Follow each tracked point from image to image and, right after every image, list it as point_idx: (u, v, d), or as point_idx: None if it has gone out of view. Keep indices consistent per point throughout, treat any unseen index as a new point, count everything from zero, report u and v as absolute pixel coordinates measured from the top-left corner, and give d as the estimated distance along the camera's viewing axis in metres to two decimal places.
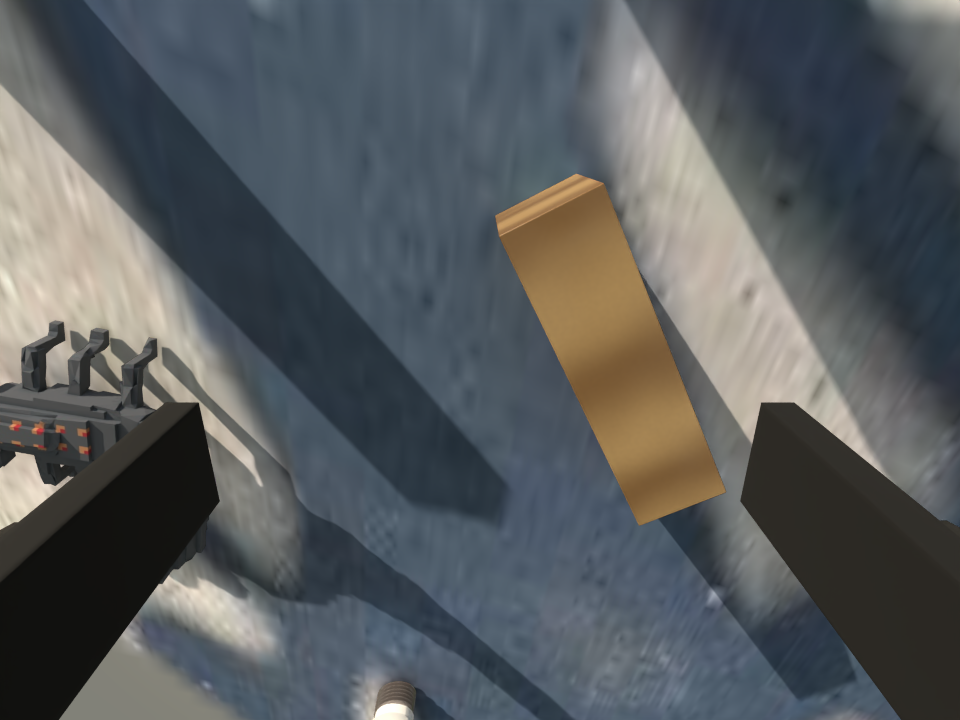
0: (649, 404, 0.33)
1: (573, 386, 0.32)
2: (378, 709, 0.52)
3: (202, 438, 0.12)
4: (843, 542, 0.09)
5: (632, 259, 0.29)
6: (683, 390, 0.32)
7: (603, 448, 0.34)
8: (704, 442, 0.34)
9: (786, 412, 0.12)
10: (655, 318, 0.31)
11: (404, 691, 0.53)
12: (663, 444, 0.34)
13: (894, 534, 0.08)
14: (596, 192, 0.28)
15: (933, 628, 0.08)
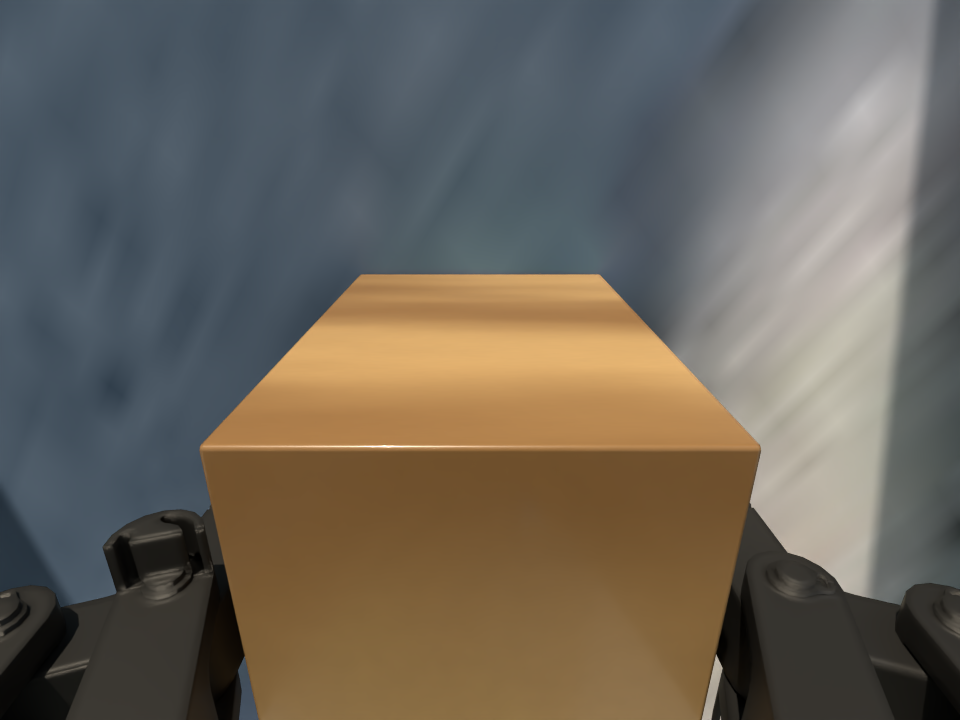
0: None
1: None
2: None
3: None
4: None
5: None
6: None
7: None
8: None
9: None
10: None
11: None
12: None
13: None
14: (713, 468, 0.06)
15: None
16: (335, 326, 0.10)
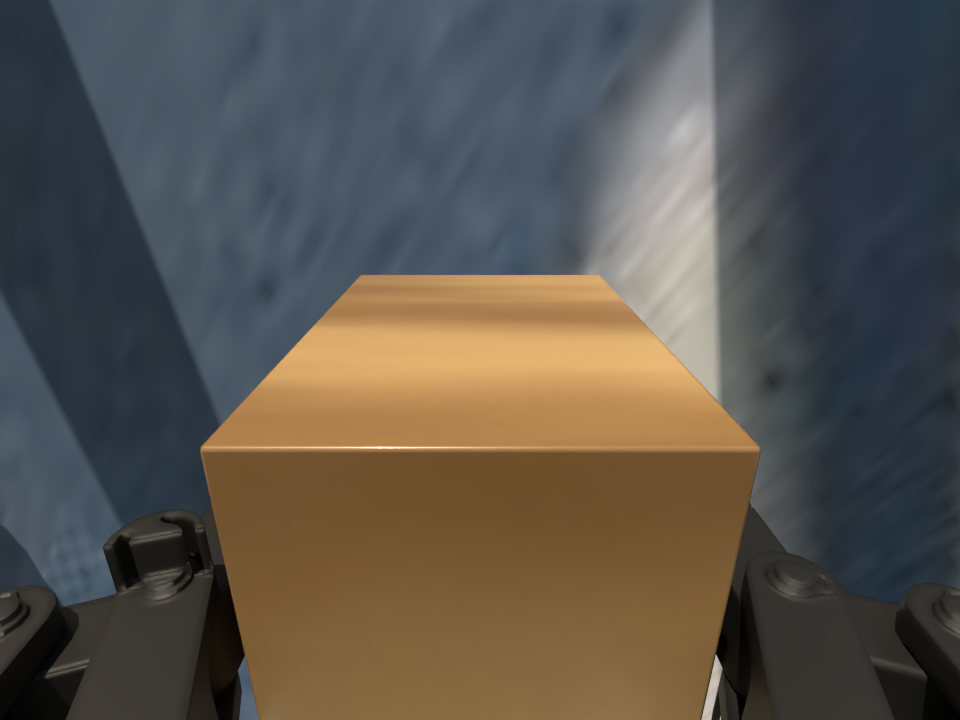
0: None
1: None
2: None
3: None
4: None
5: None
6: None
7: None
8: None
9: None
10: None
11: None
12: None
13: None
14: (713, 469, 0.06)
15: None
16: (335, 327, 0.10)
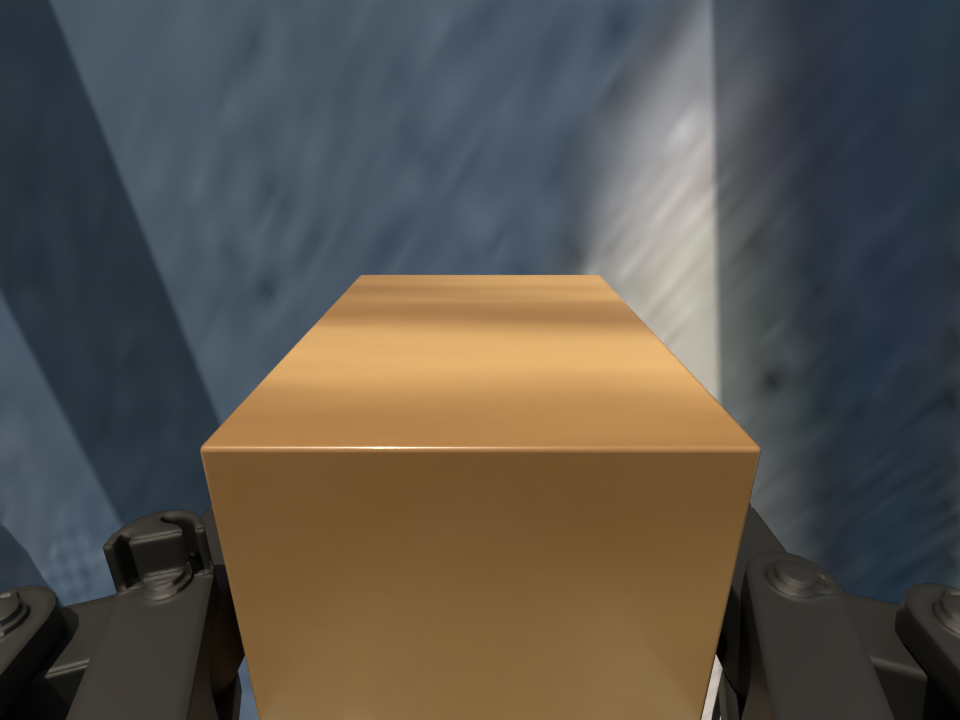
0: None
1: None
2: None
3: None
4: None
5: None
6: None
7: None
8: None
9: None
10: None
11: None
12: None
13: None
14: (713, 469, 0.06)
15: None
16: (335, 327, 0.10)
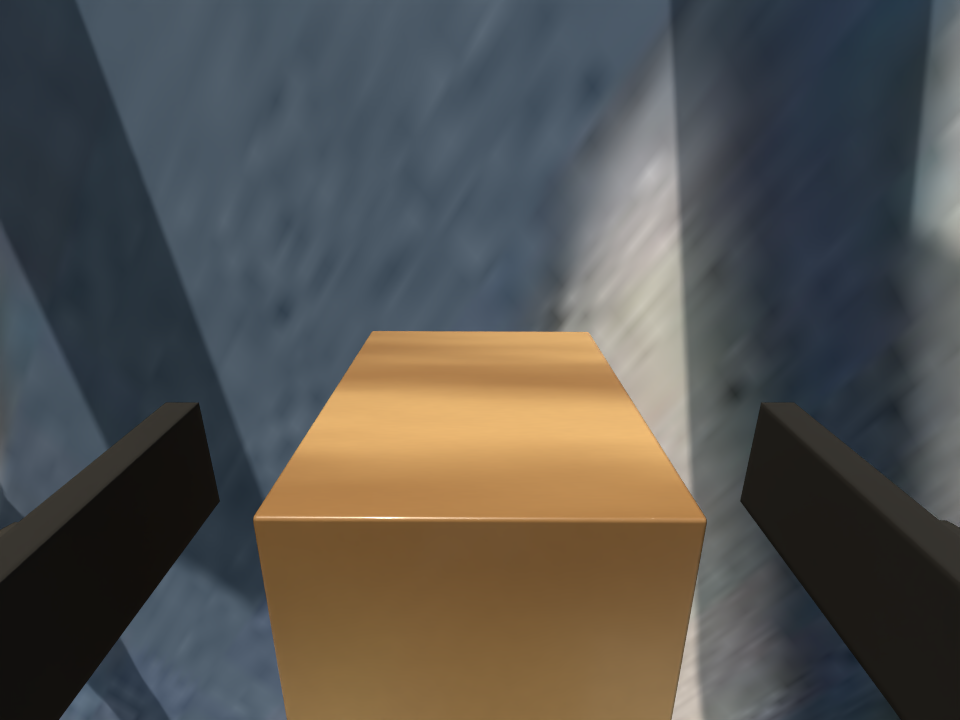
0: None
1: None
2: None
3: (202, 438, 0.12)
4: (843, 542, 0.09)
5: None
6: None
7: None
8: None
9: (786, 412, 0.12)
10: None
11: None
12: None
13: (893, 534, 0.08)
14: (669, 536, 0.07)
15: (932, 628, 0.08)
16: (354, 392, 0.11)
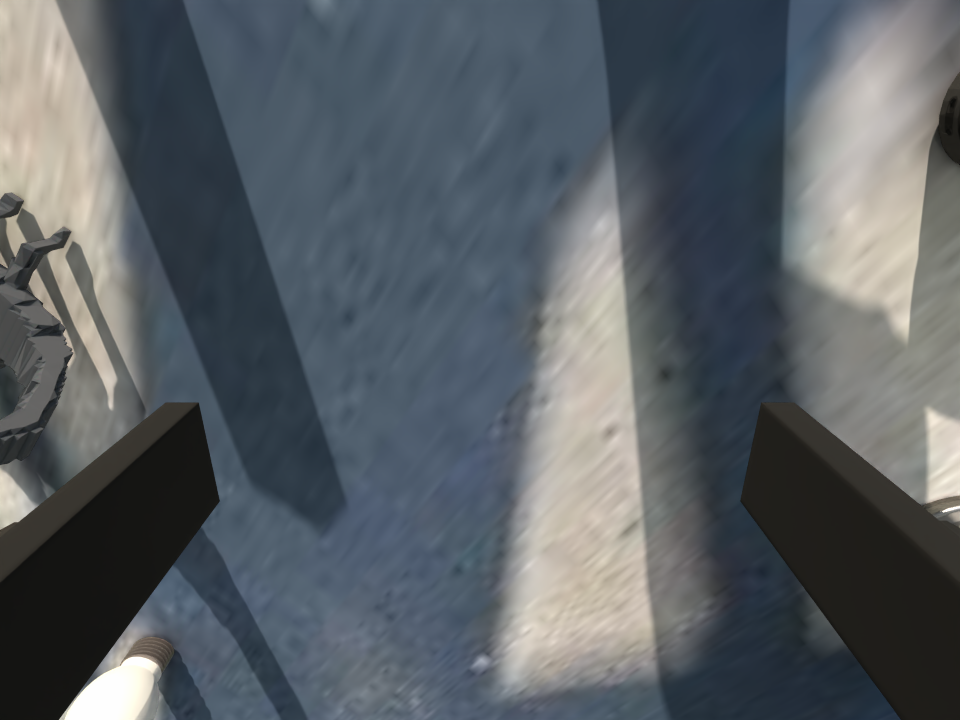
0: None
1: None
2: (128, 659, 0.51)
3: (202, 438, 0.12)
4: (843, 542, 0.09)
5: None
6: None
7: None
8: None
9: (786, 412, 0.12)
10: None
11: (162, 650, 0.53)
12: None
13: (894, 534, 0.08)
14: None
15: (933, 628, 0.08)
16: None
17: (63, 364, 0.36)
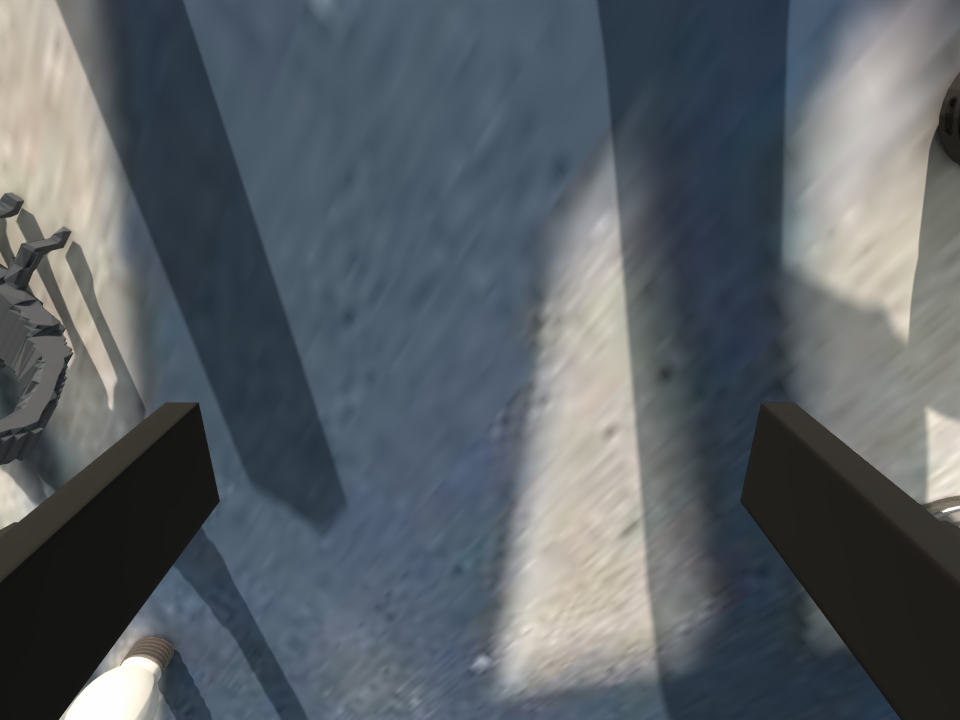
0: None
1: None
2: (128, 659, 0.51)
3: (202, 438, 0.12)
4: (843, 542, 0.09)
5: None
6: None
7: None
8: None
9: (786, 412, 0.12)
10: None
11: (162, 650, 0.53)
12: None
13: (894, 534, 0.08)
14: None
15: (933, 628, 0.08)
16: None
17: (63, 364, 0.36)
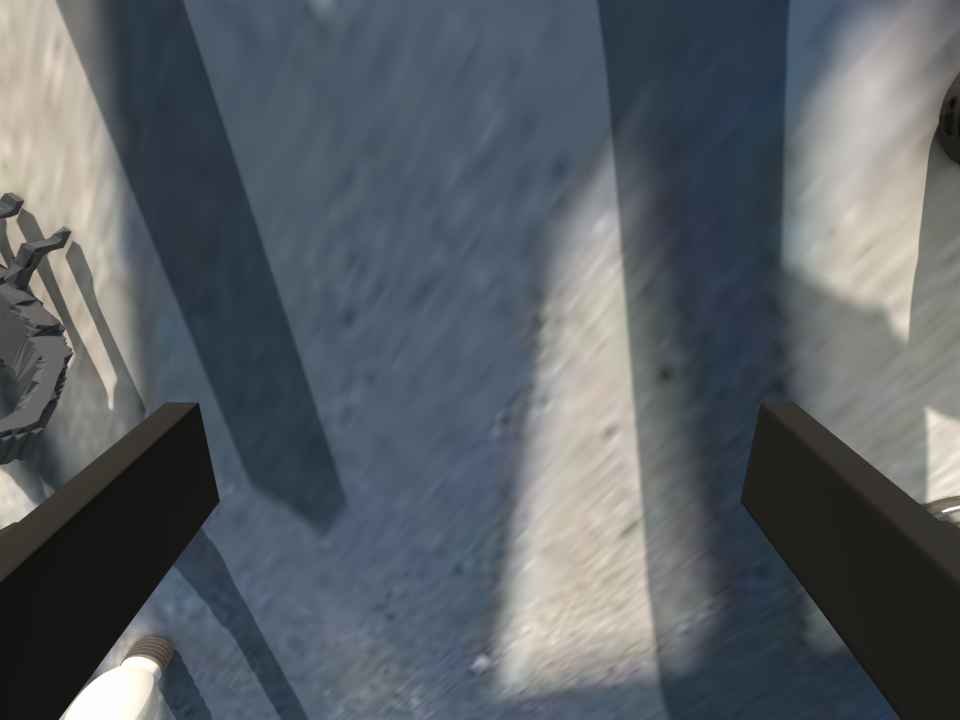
0: None
1: None
2: (128, 659, 0.51)
3: (202, 438, 0.12)
4: (843, 542, 0.09)
5: None
6: None
7: None
8: None
9: (786, 412, 0.12)
10: None
11: (162, 650, 0.53)
12: None
13: (894, 534, 0.08)
14: None
15: (933, 628, 0.08)
16: None
17: (63, 364, 0.36)
